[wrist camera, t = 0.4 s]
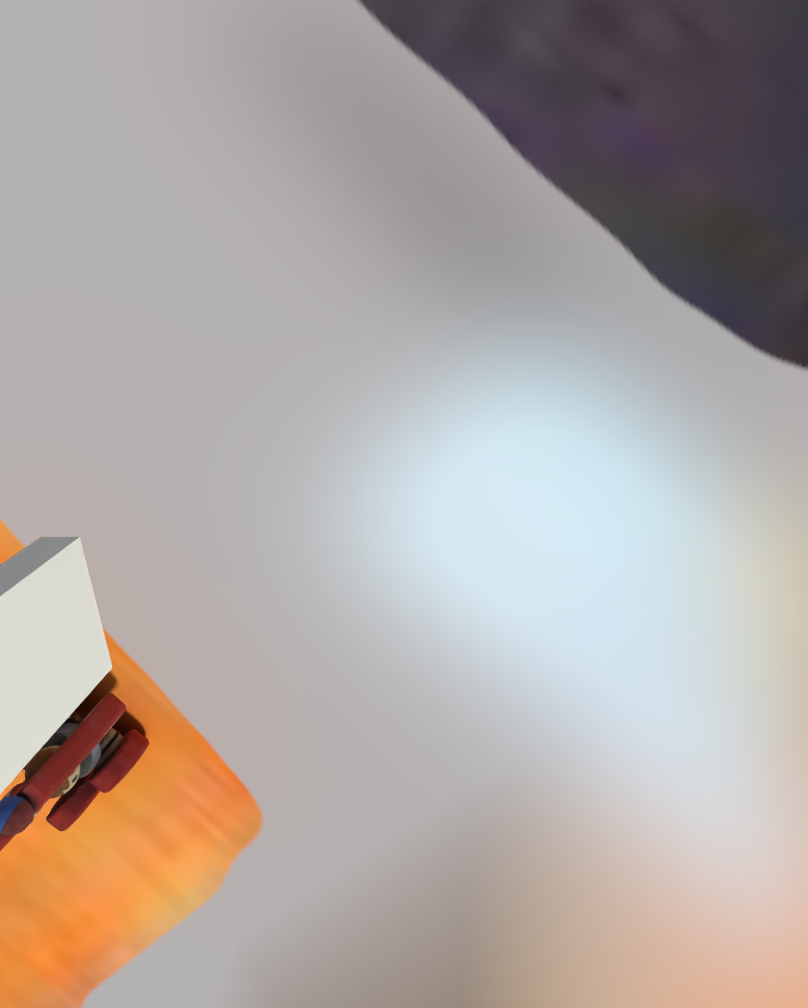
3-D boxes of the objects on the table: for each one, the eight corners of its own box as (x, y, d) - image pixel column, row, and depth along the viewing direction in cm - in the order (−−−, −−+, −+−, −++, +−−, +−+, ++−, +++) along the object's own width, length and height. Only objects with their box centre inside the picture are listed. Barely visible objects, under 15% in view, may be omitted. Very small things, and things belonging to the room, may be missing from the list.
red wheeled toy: (175, 717, 49) (95, 839, 39) (74, 809, 53) (-20, 940, 44) (93, 649, 48) (-10, 758, 38) (-4, 749, 52) (-118, 870, 42)
